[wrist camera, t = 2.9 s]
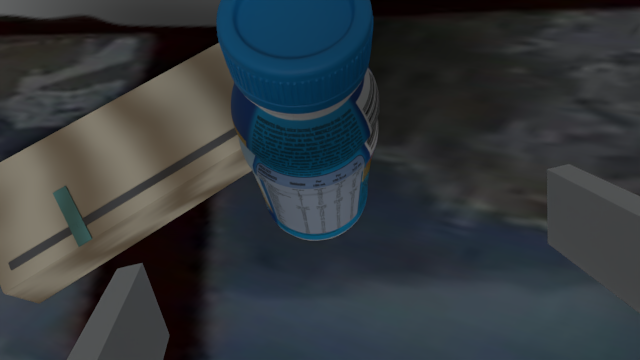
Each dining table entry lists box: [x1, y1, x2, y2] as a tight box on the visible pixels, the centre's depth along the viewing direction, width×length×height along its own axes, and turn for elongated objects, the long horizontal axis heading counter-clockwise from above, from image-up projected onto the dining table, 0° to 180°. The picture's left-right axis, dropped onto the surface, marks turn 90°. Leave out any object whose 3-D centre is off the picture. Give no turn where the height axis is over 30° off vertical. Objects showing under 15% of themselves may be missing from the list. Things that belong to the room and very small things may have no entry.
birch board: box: [0, 43, 252, 303], centre depth 37 cm, size 28×10×4 cm, turn 125°
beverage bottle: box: [217, 0, 379, 241], centre depth 28 cm, size 8×8×20 cm
